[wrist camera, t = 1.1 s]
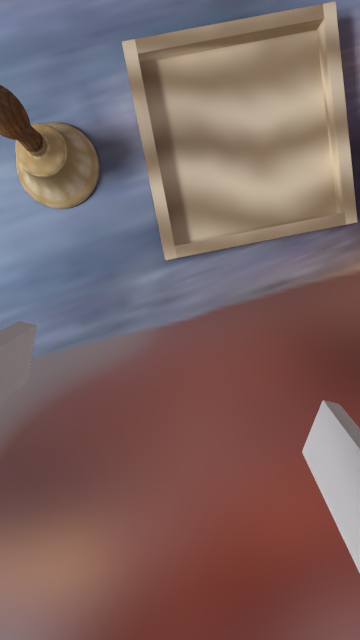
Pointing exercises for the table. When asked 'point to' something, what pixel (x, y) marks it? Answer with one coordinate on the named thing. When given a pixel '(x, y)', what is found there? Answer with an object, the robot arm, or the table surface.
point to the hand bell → (49, 156)
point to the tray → (244, 129)
